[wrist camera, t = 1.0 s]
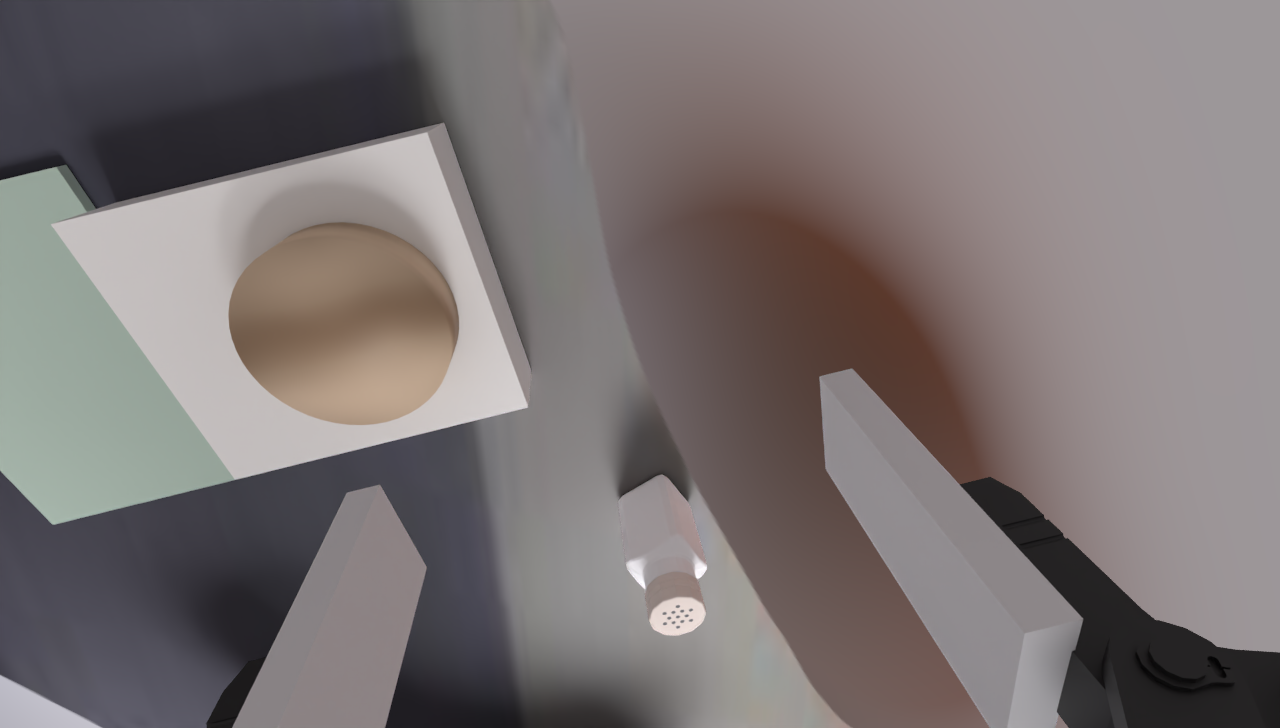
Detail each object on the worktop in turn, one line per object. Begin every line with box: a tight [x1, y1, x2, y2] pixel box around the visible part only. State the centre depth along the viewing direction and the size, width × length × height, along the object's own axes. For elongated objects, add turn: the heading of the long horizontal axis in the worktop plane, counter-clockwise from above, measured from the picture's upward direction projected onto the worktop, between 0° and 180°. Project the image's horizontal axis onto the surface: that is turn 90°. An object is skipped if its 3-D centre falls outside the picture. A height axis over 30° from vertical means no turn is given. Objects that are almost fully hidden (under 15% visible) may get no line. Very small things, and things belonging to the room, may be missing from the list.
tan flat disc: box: [228, 222, 459, 425], centre depth 26 cm, size 9×9×2 cm
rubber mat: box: [0, 165, 257, 525], centre depth 31 cm, size 18×13×1 cm
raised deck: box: [51, 123, 532, 480], centre depth 29 cm, size 14×16×4 cm
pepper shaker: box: [618, 475, 707, 635], centre depth 36 cm, size 4×4×10 cm
